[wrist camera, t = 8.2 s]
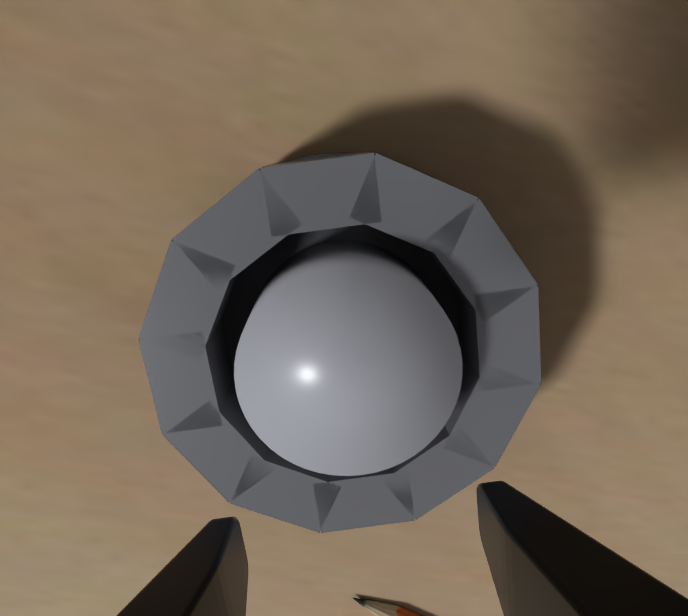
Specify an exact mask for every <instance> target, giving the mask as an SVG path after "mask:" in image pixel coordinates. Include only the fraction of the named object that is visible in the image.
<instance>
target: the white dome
mask: <svg viewBox="0 0 688 616" xmlns="http://www.w3.org/2000/svg"><path fill="white" fill-rule="evenodd" d="M234 380H235V389H236V393H237V397H238V401H239V404H240V407H241V409H242V411H243V414H244V416H245V418H246V420H247V421H248V423H249V425H250V426H251V428H252V429H253V431H254V432H255V433H256V434H257V436H258V437H259V438H260V439H261V440H262V441H263V442H264V443H265V444H266V445H267V446H268V447H269V448H270V449H271V450H273V451H274V452H275V453H277V454H278V455H279V456H281V457H282V458H284V459H286V460H287V461H289V462H291V463H293V464H295V465H297V466H300V467H302V468H304V469H307V470H311V471H314V472H318V473H322V474H328V475H336V476H356V475H365V474H371V473H376V472H379V471H382V470H386V469H389V468H391V467H394V466H396V465H398V464H401V463H403V462H404V461H406V460H408V459H409V458H411V457H413V456H414V455H416V454H417V453H418V452H420V451H421V450H422V449H424V448H425V447H426V446H427V445H428V444H429V443H430V442H431V441H432V440H433V439H434V438H435V437H436V436H437V435H438V434H439V432H440V431H441V430H442V429H443V427H444V426H445V424H446V423H447V421H448V419H449V418H450V416H451V414H452V412H453V410H454V407H455V405H456V403H457V399H458V396H459V393H460V389H461V382H462V355H461V348H460V345H459V341H458V338H457V335H456V332H455V330H454V328H453V326H452V323H451V321H450V320H449V318H448V317H447V315H446V313H445V312H444V310H443V309H442V307H441V306H440V305H439V303H438V302H437V300H436V299H435V298H434V296H433V295H432V293H431V292H430V290H429V289H428V288H427V286H426V285H425V283H424V282H423V281H422V279H421V278H420V277H419V275H418V274H417V273H416V272H415V271H414V269H413V268H412V267H410V266H409V265H408V264H407V263H406V262H405V261H404V260H402V259H401V258H399V257H398V256H396V255H395V254H393V253H391V252H389V251H387V250H385V249H383V248H381V247H378V246H375V245H372V244H368V243H363V242H359V241H332V242H327V243H322V244H318V245H315V246H312V247H309V248H307V249H305V250H303V251H301V252H299V253H297V254H295V255H294V256H292V257H291V258H289V259H288V260H286V261H285V262H284V263H283V264H282V265H280V266H279V267H278V268H277V269H276V270H275V271H274V273H273V274H272V275H271V276H270V277H269V278H268V280H267V281H266V283H265V284H264V286H263V288H262V290H261V292H260V294H259V296H258V298H257V300H256V302H255V305H254V307H253V309H252V311H251V314H250V316H249V318H248V321H247V323H246V325H245V327H244V330H243V332H242V334H241V337H240V340H239V343H238V346H237V350H236V356H235V362H234Z"/></svg>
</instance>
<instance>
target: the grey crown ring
mask: <svg viewBox="0 0 688 616" xmlns="http://www.w3.org/2000/svg"><path fill="white" fill-rule="evenodd" d="M332 241H359V242H363V243H368V244H372V245H375V246H378V247H381V248H383V249H385V250H387V251H389V252H391V253H393V254H395V255H396V256H398V257H399V258H401V259H402V260H404V261H405V262H406V263H407V264H408V265H409V266H410V267H412V268H413V269H414V271H415V272H416V273H417V274H418V275H419V277H420V278H421V279H422V281H423V282H424V283H425V285H426V286H427V288H428V289H429V290H430V292H431V293H432V295H433V296H434V298H435V299H436V300H437V302H438V303H439V305H440V306H441V307H442V309H443V310H444V312H445V313H446V315H447V317H448V318H449V320H450V321H451V323H452V326H453V328H454V330H455V332H456V335H457V338H458V341H459V345H460V348H461V355H462V382H461V389H460V393H459V396H458V399H457V403H456V405H455V407H454V410H453V412H452V414H451V416H450V418H449V419H448V421H447V423H446V424H445V426H444V427H443V429H442V430H441V431H440V432H439V434H438V435H437V436H436V437H435V438H434V439H433V440H432V441H431V442H430V443H429V444H428V445H427V446H426V447H425V448H424V449H422V450H421V451H420V452H418V453H417V454H416V455H414V456H413V457H411V458H409V459H408V460H406V461H404V462H403V463H401V464H398V465H396V466H394V467H391V468H389V469H386V470H382V471H379V472H376V473H371V474H365V475H356V476H336V475H328V474H322V473H318V472H314V471H311V470H307V469H304V468H302V467H300V466H297V465H295V464H293V463H291V462H289V461H287V460H286V459H284V458H282V457H281V456H279V455H278V454H277V453H275V452H274V451H273V450H271V449H270V448H269V447H268V446H267V445H266V444H265V443H264V442H263V441H262V440H261V439H260V438H259V437H258V436H257V434H256V433H255V432H254V431H253V429H252V428H251V426H250V425H249V423H248V421H247V420H246V418H245V416H244V414H243V411H242V409H241V407H240V404H239V401H238V397H237V393H236V389H235V380H234V362H235V356H236V350H237V346H238V343H239V340H240V337H241V334H242V332H243V330H244V327H245V325H246V323H247V321H248V318H249V316H250V314H251V311H252V309H253V307H254V305H255V302H256V300H257V298H258V296H259V294H260V292H261V290H262V288H263V286H264V284H265V283H266V281H267V280H268V278H269V277H270V276H271V275H272V274H273V273H274V271H275V270H276V269H277V268H278V267H279V266H280V265H282V264H283V263H284V262H285V261H286V260H288V259H289V258H291V257H292V256H294V255H295V254H297V253H299V252H301V251H303V250H305V249H307V248H309V247H312V246H315V245H318V244H322V243H327V242H332ZM139 338H140V339H139V344H140V348H141V352H142V356H143V360H144V364H145V368H146V372H147V376H148V380H149V384H150V388H151V392H152V396H153V400H154V404H155V408H156V412H157V416H158V420H159V424H160V428H161V432H162V434H163V436H164V437H165V438H166V439H167V440H168V441H169V442H170V443H171V444H172V445H173V446H174V447H175V448H176V449H177V450H178V451H179V452H180V453H181V454H182V455H183V456H184V457H185V458H186V459H187V460H188V461H189V462H190V464H191V465H192V466H193V467H194V468H195V469H196V470H197V471H198V472H199V473H200V474H201V475H202V476H203V477H204V478H205V479H206V480H207V481H208V482H209V483H210V484H211V485H212V486H213V487H214V488H215V489H216V490H217V491H218V492H219V493H220V494H221V495H222V496H223V497H224V498H225V499H226V500H227V501H228V502H230V504H233V505H236V506H239V507H242V508H246V509H249V510H252V511H255V512H258V513H261V514H264V515H267V516H270V517H273V518H276V519H279V520H282V521H285V522H288V523H291V524H294V525H298V526H301V527H304V528H307V529H310V530H313V531H316V532H319V533H320V531H321V533H324V532H331V531H339V530H346V529H354V528H361V527H369V526H376V525H384V524H391V523H399V522H406V521H414V518H415V519H418V518H419V517H421V516H423V515H424V514H426V513H427V512H429V511H430V510H432V509H433V508H435V507H436V506H438V505H439V504H441V503H442V502H444V501H445V500H447V499H448V498H450V497H451V496H453V495H454V494H456V493H457V492H459V491H460V490H462V489H464V488H465V487H467V486H468V485H470V484H471V483H473V482H474V481H476V480H477V479H479V478H480V477H482V476H483V475H485V474H486V473H488V472H489V471H491V470H492V469H494V467H496V465H497V463H498V461H499V459H500V458H501V456H502V454H503V452H504V450H505V449H506V447H507V445H508V443H509V441H510V440H511V438H512V436H513V434H514V432H515V430H516V429H517V427H518V425H519V423H520V421H521V420H522V418H523V416H524V414H525V412H526V411H527V409H528V407H529V405H530V403H531V401H532V400H533V398H534V396H535V394H536V392H537V391H538V389H539V387H540V385H541V384H540V383H541V359H540V326H539V293H538V284H537V283H536V281H535V280H534V278H533V277H532V275H531V274H530V272H529V271H528V269H527V268H526V266H525V265H524V263H523V262H522V260H521V259H520V258H519V256H518V255H517V253H516V252H515V250H514V249H513V247H512V246H511V244H510V243H509V241H508V240H507V238H506V237H505V235H504V234H503V232H502V231H501V230H500V228H499V227H498V225H497V224H496V222H495V221H494V219H493V218H492V216H491V215H490V213H489V212H488V210H487V209H486V207H485V206H484V205H483V203H482V202H481V200H480V199H479V198H478V197H476V196H473V195H471V194H469V193H467V192H464V191H462V190H460V189H457V188H455V187H453V186H450V185H448V184H446V183H444V182H441V181H439V180H437V179H434V178H432V177H430V176H428V175H426V174H424V173H422V172H420V171H418V170H417V169H415V168H412V167H409V166H406V165H404V164H401V163H398V162H395V161H393V160H391V159H389V158H386V157H384V156H382V155H379V154H377V153H372V152H362V153H354V154H348V153H335V154H320V155H314V156H309V157H304V158H299V159H294V160H291V161H288V162H286V163H280V164H273V165H268V166H265V167H262V168H259V169H258V170H256V171H255V172H254V173H253V174H251V175H250V176H249V177H248V178H247V179H245V180H244V181H243V182H242V183H240V184H239V185H238V186H237V187H235V188H234V189H233V190H232V191H231V192H229V193H228V194H227V195H226V196H224V197H223V198H222V199H221V200H219V201H218V202H217V203H216V204H215V205H213V206H212V207H211V208H210V209H208V210H207V211H206V212H205V213H203V214H202V215H201V216H200V217H198V218H197V219H196V220H195V221H194V222H192V223H191V224H190V225H189V226H187V227H186V228H185V229H184V230H182V231H181V232H180V233H179V234H178V235H176V236H175V237H174V238H173V239H172V240H171V242H170V245H169V248H168V251H167V254H166V257H165V260H164V263H163V266H162V269H161V272H160V275H159V278H158V281H157V284H156V287H155V290H154V293H153V296H152V299H151V302H150V305H149V308H148V311H147V314H146V317H145V320H144V323H143V326H142V329H141V332H140V335H139Z"/></svg>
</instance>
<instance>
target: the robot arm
mask: <svg viewBox="0 0 688 616" xmlns="http://www.w3.org/2000/svg"><path fill="white" fill-rule="evenodd" d="M477 505H478V519H479V530H480V536H481V540H482V544H483V548H484V551H485V554H486V557H487V561H488V564H489V567H490V571H491V574H492V577H493V581H494V584H495V587H496V591H497V594H498V597H499V601H500V604H501V607H502V611H503V614H504V616H688V599H687V598H686V597H684V596H683V595H681V594H679V593H678V592H676V591H675V590H673V589H672V588H670V587H668V586H667V585H665V584H664V583H662V582H661V581H659V580H657V579H656V578H654V577H653V576H651V575H650V574H648V573H647V572H645V571H643V570H642V569H640V568H639V567H637V566H636V565H634V564H632V563H631V562H629V561H628V560H626V559H625V558H623V557H621V556H620V555H618V554H617V553H615V552H614V551H612V550H610V549H609V548H607V547H606V546H604V545H603V544H601V543H599V542H598V541H596V540H595V539H593V538H592V537H590V536H589V535H587V534H585V533H584V532H582V531H581V530H579V529H578V528H576V527H574V526H573V525H571V524H570V523H568V522H567V521H565V520H563V519H562V518H560V517H559V516H557V515H556V514H554V513H552V512H551V511H549V510H548V509H546V508H545V507H543V506H542V505H540V504H538V503H537V502H535V501H534V500H532V499H531V498H529V497H527V496H526V495H524V494H523V493H521V492H520V491H518V490H516V489H515V488H513V487H512V486H510V485H509V484H507V483H505V482H503V481H495V482H487V483H481V484H479V485H478V487H477ZM247 585H248V561H247V555H246V551H245V546H244V541H243V537H242V532H241V527H240V523H239V521H238V519H237V518H235V517H227V518H220V519H213V520H211V521H210V522H209V523H208V524H207V525H206V526H205V527H204V528H203V529H202V530H201V531H200V532H199V533H198V534H197V535H196V536H195V537H194V538H193V539H192V540H191V541H190V542H189V543H188V544H187V545H186V546H185V547H184V548H183V549H182V550H181V551H180V552H179V553H178V554H177V555H176V556H175V557H174V558H173V559H172V560H171V561H170V562H169V563H168V564H167V565H166V566H165V567H164V568H163V569H162V570H161V571H160V572H159V573H158V574H157V575H156V576H155V577H154V578H153V579H152V580H151V581H150V582H149V583H148V584H147V585H146V586H145V587H144V588H143V589H142V590H141V591H140V592H139V593H138V594H137V595H136V596H135V597H134V598H133V599H132V601H131V602H130V603H129V604H128V605H127V606H126V607H125V608H124V609H123V610H122V611H121V612H120V613H119V614H118V615H117V616H246V601H247Z"/></svg>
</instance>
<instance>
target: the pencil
mask: <svg viewBox="0 0 688 616" xmlns="http://www.w3.org/2000/svg"><path fill="white" fill-rule="evenodd" d="M353 599H354V600H356V601H357V602H358V603H359V604H361V605H362V606H363V607H365V608H366V609H367V610H368V611H370V612H371V613H372V614H374V615H375V616H422V615H419V614H417V613H415V612H412V611H410V610H408V609H405V608H403V607H401V606H398V605H393V604H388V603H384V602H379V601H372V600H365V599H358V598H353Z"/></svg>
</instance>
